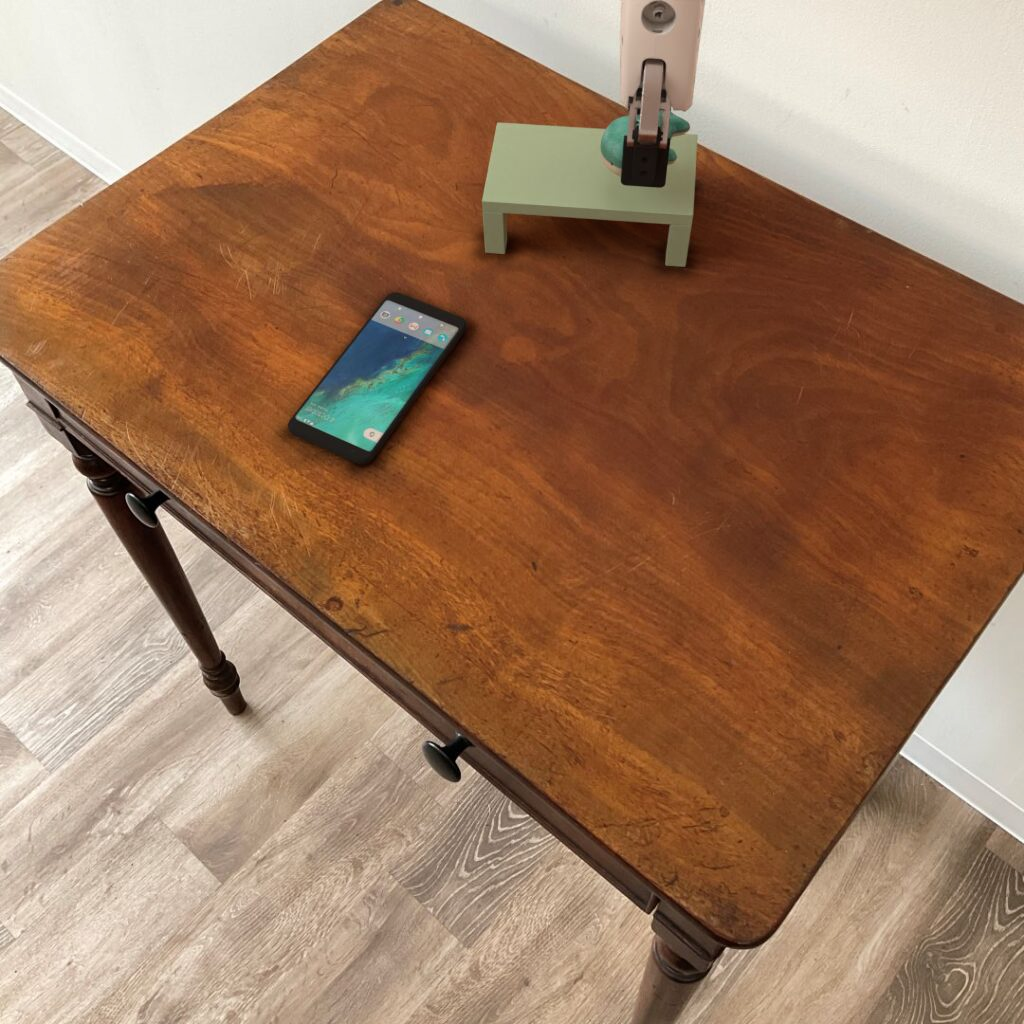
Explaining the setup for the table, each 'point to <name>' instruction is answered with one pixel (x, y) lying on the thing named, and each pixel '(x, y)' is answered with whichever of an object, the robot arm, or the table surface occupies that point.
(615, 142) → the whale figurine
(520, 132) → the miniature table
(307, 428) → the smartphone
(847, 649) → the table surface
